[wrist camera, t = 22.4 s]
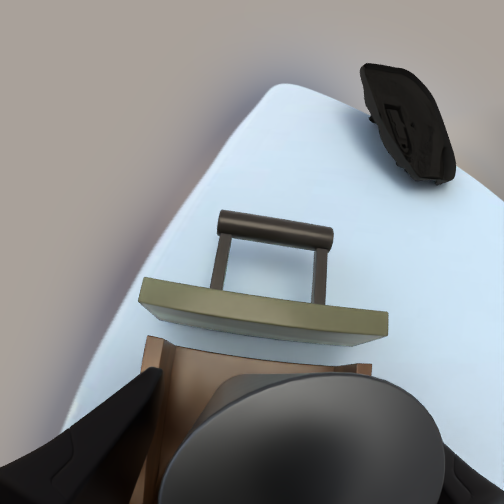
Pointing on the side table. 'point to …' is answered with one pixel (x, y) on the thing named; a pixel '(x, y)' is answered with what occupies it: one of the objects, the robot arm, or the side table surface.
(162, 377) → the robot arm
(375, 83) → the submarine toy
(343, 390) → the cylinder
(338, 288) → the side table surface
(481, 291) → the side table surface
